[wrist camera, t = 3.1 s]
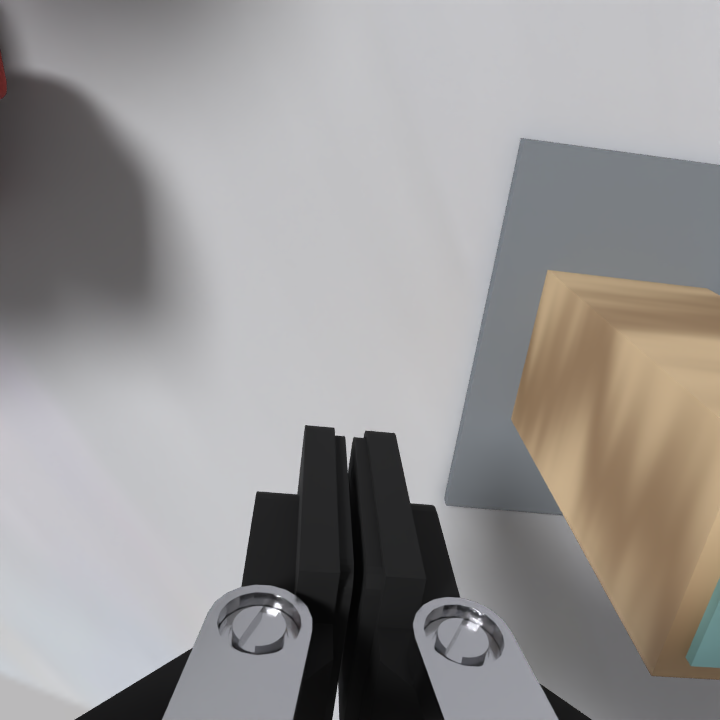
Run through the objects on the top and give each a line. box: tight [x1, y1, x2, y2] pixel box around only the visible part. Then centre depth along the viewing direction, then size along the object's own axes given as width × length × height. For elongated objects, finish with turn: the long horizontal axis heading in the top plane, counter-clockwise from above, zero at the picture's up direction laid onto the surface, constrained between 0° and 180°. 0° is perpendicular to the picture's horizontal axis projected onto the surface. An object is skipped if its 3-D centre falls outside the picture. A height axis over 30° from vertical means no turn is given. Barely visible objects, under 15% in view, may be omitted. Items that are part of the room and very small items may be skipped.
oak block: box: [511, 270, 720, 680], centre depth 16 cm, size 5×5×10 cm
